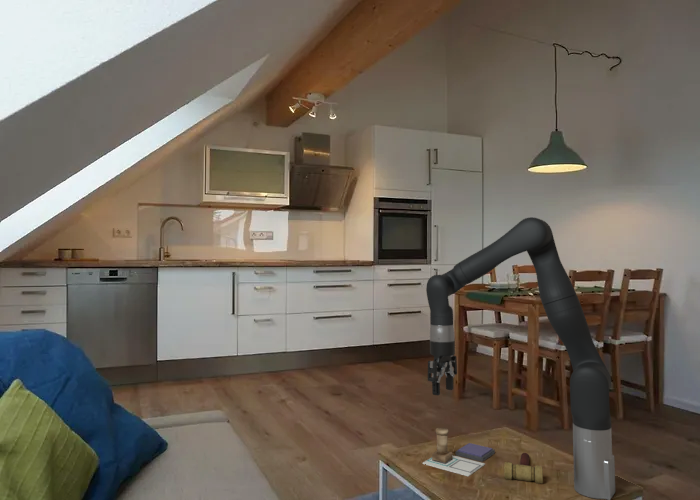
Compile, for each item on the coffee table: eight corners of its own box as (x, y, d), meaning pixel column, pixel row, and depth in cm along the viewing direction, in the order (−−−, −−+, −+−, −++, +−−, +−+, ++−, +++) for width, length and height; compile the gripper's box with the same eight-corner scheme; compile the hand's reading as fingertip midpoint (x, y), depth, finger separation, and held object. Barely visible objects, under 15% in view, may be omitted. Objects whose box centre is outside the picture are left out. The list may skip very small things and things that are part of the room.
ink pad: (494, 453, 160) (494, 448, 160) (482, 461, 153) (482, 456, 153) (468, 447, 166) (468, 442, 166) (455, 455, 159) (455, 449, 159)
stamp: (452, 459, 154) (452, 429, 154) (445, 464, 151) (444, 433, 151) (439, 456, 157) (439, 426, 157) (432, 460, 153) (431, 430, 154)
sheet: (485, 464, 151) (484, 463, 151) (468, 476, 142) (468, 475, 142) (440, 453, 160) (440, 452, 160) (422, 463, 152) (422, 462, 152)
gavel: (508, 444, 159) (542, 448, 156) (508, 459, 159) (542, 463, 155) (504, 464, 140) (542, 469, 136) (504, 481, 139) (542, 486, 136)
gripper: (441, 343, 148) (442, 398, 147) (463, 337, 159) (464, 389, 158) (419, 341, 152) (420, 395, 152) (442, 335, 163) (443, 386, 163)
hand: (443, 392), depth 155 cm, fingers open, 8 cm apart
